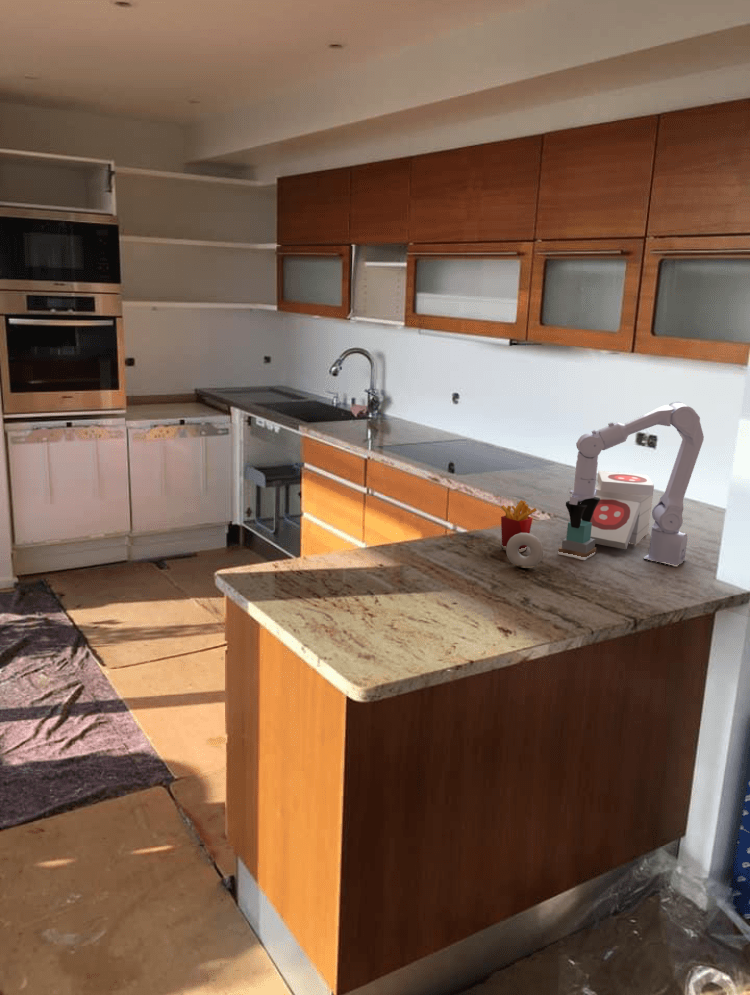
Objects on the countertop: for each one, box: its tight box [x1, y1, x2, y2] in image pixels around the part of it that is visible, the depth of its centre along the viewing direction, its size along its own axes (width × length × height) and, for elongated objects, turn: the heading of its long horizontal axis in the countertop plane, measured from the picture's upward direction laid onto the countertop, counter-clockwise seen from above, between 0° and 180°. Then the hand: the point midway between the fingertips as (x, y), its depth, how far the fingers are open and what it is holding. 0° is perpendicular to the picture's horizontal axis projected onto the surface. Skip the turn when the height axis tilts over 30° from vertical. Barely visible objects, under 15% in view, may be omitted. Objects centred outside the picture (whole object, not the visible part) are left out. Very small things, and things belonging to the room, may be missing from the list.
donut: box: [505, 533, 544, 567], centre depth 223 cm, size 10×4×10 cm, turn 68°
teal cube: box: [565, 520, 592, 543], centre depth 236 cm, size 5×5×5 cm
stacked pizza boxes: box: [590, 470, 655, 550], centre depth 252 cm, size 19×30×18 cm, turn 149°
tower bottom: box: [557, 545, 597, 557], centre depth 238 cm, size 8×8×2 cm
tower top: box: [561, 537, 596, 554], centre depth 237 cm, size 7×7×2 cm
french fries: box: [500, 499, 537, 549], centre depth 237 cm, size 9×8×15 cm
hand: (580, 524), depth 236 cm, fingers open, 7 cm apart
